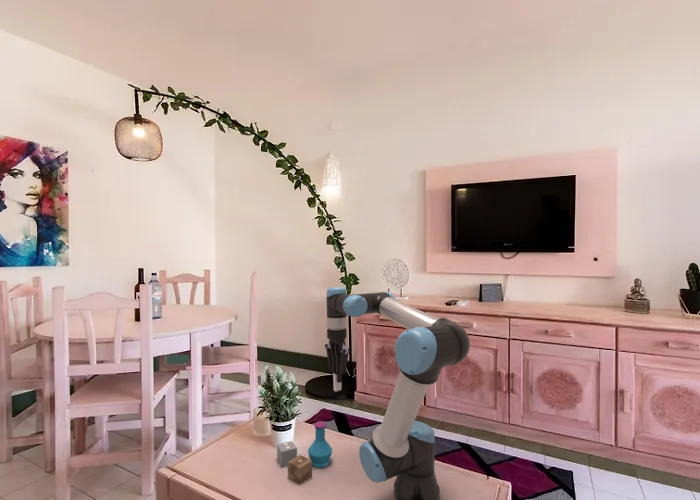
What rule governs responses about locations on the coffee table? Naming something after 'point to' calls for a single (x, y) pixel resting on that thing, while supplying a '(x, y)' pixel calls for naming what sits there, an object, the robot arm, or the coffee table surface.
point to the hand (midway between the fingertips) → (337, 390)
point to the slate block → (286, 453)
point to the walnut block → (300, 469)
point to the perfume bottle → (320, 447)
